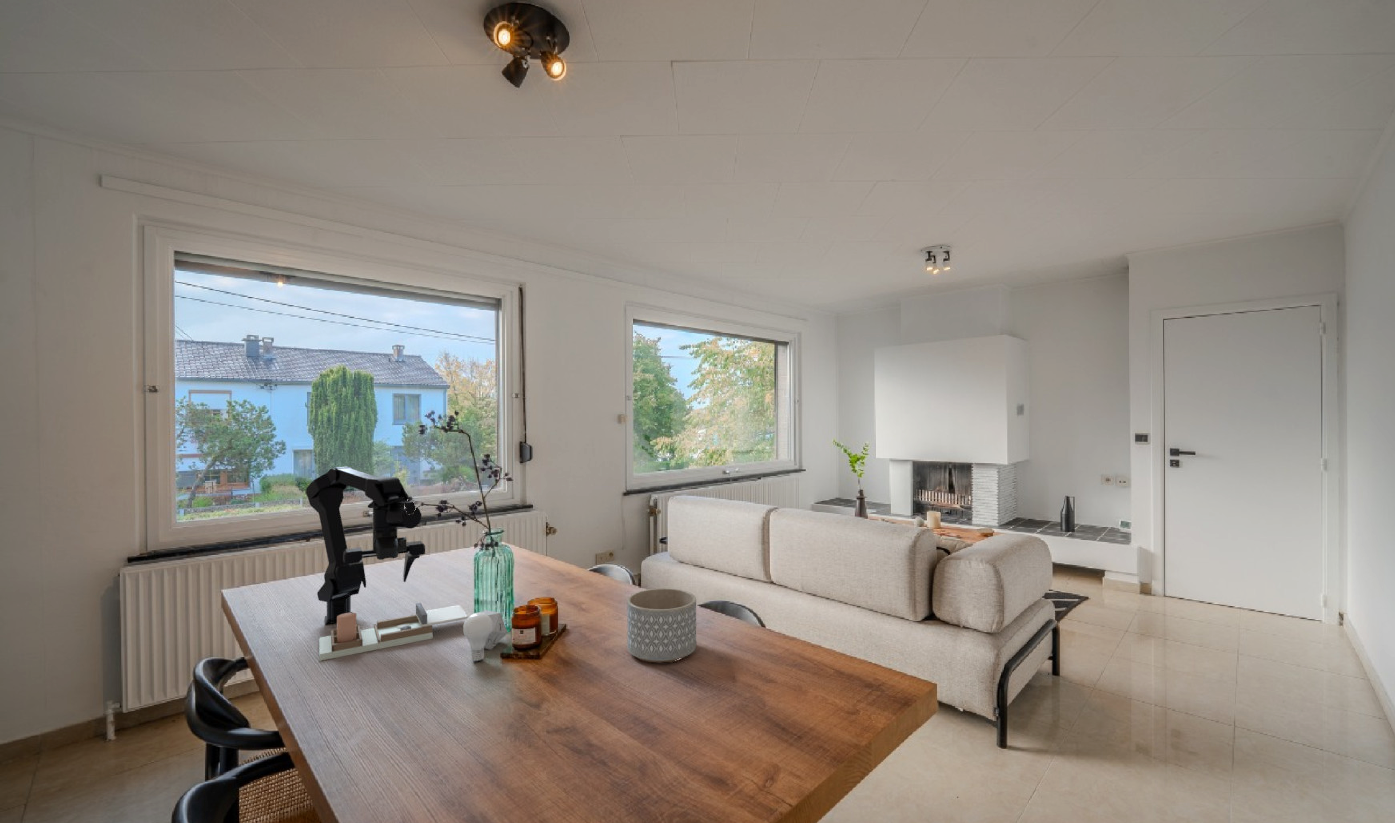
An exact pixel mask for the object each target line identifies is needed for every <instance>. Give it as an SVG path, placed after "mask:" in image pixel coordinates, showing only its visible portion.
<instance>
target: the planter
mask: <svg viewBox="0 0 1395 823" xmlns="http://www.w3.org/2000/svg"><path fill="white" fill-rule="evenodd" d="M696 598H697V597H696V595H695V594H693V593H692V592H689V591H686V590H682V589H677V588H652V589H645V590H640V591H637V592H634V593H633V594H631V595H629V597H628V598H627V606H626V607H627V615H626V616H627V626H626V627H627V631H626V632H627V637H626V638H627V640H626V641H627V646H626V647H627V651H628V652H629V654H631V656H634V657H636V658H637V659H639V660H641V661H643V662H645V663H646V662H647V663H651V662H670V663H672V662H671V661H675V660H677V659H679V658H683V657H685V656H686V657H688V656H690V655H691V654H693V653H694V652H695V651H696V649H697V599H696ZM686 657H685V658H686ZM683 659H684V658H683ZM675 662H676V661H675Z"/></svg>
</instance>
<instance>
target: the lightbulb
mask: <svg viewBox="0 0 1395 823" xmlns="http://www.w3.org/2000/svg"><path fill="white" fill-rule="evenodd" d="M492 626H493V624H492V620H491V618H490V617H489V616H488V615H487V614H485V613H482V611H480V612H479V611H478V612H475V613H471V615H469V616H468V618H467V619H465V621H464V623H463V626H462V630H463V631H462V632H463V634H464V637H465V638H466V640H467V641H468V643H469V647H470V649H471V660H472V661H473V662H476V663H477V662H481V661H483V659H484V658H485V648H484V647H485V644H486V640H487V638H488V636H489V635H490V633H491V631H492Z"/></svg>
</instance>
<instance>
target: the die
mask: <svg viewBox="0 0 1395 823" xmlns="http://www.w3.org/2000/svg"><path fill="white" fill-rule="evenodd" d="M481 612H482V613H485V614H487V615H488V616H489V617H490V618H491V620H492V624H493V626H492V631H491V633H490V635H489V636H488V638H487V640H486V644H485V647H484V650H490V651H491V650H493V649H494V647H495V646H497V644H498V643H499V642H501V640H502V639H503V638H504V637H505V636H507V635H508V633H509V632H508V630H507V627H506V624H505V622H504V619H503V617H502V614H501V612H497V611H492V610H485V609H483V611H481Z"/></svg>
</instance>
